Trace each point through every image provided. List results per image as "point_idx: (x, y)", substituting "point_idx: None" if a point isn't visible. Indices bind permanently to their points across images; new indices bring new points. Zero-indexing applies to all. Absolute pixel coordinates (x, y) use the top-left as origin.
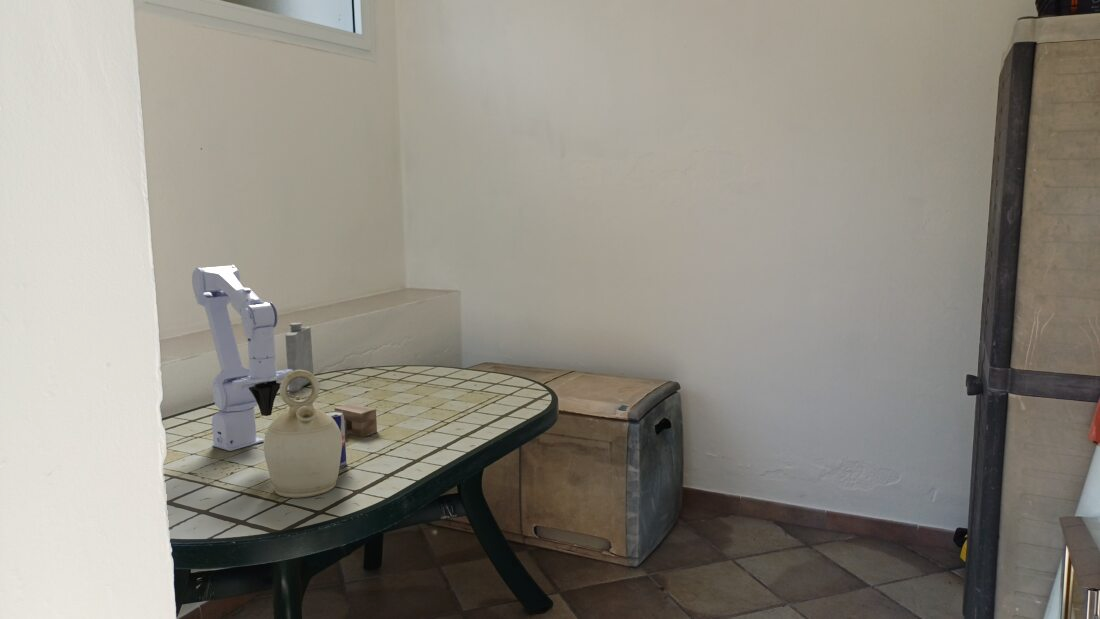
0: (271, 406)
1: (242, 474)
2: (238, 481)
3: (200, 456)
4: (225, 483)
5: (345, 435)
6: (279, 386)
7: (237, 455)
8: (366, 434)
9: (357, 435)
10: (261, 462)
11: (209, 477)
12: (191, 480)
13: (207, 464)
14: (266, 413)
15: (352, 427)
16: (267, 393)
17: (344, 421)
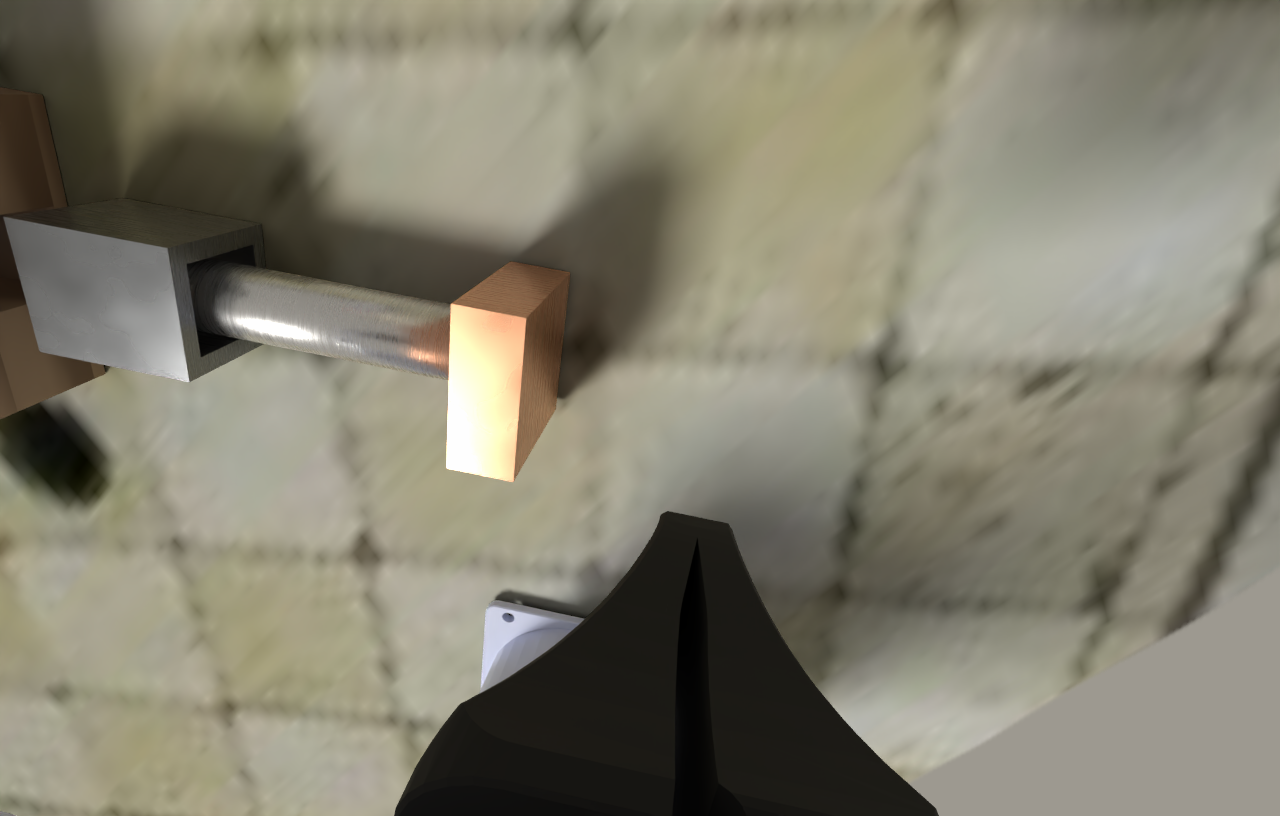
0: (662, 562)
1: (1056, 293)
2: (1215, 202)
3: None
4: (1274, 259)
5: (121, 202)
6: (472, 726)
7: None
8: None
9: (50, 146)
10: (792, 358)
11: (1159, 448)
12: (1236, 506)
13: (932, 612)
14: (734, 539)
15: (11, 208)
16: (761, 729)
17: (15, 228)
